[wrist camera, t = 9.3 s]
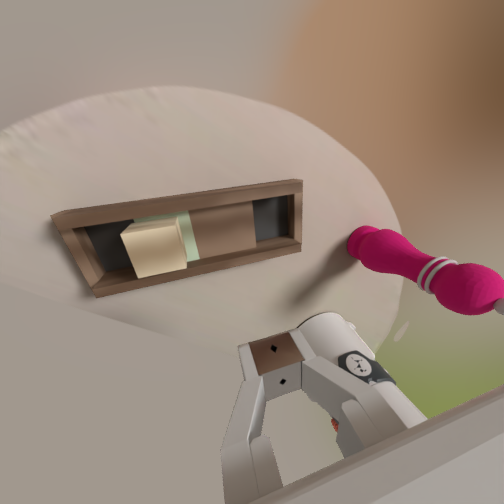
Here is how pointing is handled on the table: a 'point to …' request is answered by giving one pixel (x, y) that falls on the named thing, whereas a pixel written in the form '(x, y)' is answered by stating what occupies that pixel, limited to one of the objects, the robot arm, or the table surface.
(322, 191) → the table surface
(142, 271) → the maple block
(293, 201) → the tray
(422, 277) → the pepper mill
